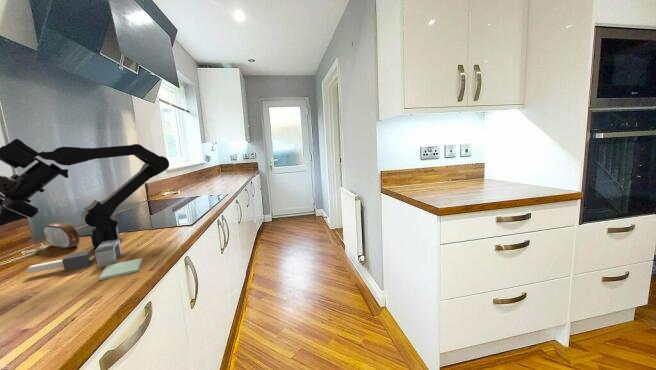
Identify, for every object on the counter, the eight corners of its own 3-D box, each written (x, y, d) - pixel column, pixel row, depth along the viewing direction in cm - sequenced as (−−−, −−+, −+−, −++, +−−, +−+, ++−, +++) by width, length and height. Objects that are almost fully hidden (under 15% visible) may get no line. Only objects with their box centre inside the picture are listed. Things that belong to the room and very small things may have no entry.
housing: (122, 253, 80) (119, 238, 79) (116, 263, 73) (112, 247, 72) (105, 256, 78) (102, 241, 77) (97, 267, 71) (94, 250, 70)
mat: (142, 260, 74) (142, 258, 74) (137, 271, 68) (137, 269, 67) (107, 267, 71) (107, 265, 71) (99, 280, 64) (98, 278, 64)
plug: (96, 261, 75) (94, 249, 75) (92, 266, 72) (90, 254, 72) (35, 273, 69) (32, 261, 69) (28, 279, 66) (25, 266, 66)
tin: (82, 246, 88) (77, 223, 86) (70, 250, 85) (65, 226, 83) (56, 243, 93) (51, 221, 91) (44, 246, 90) (39, 223, 88)
